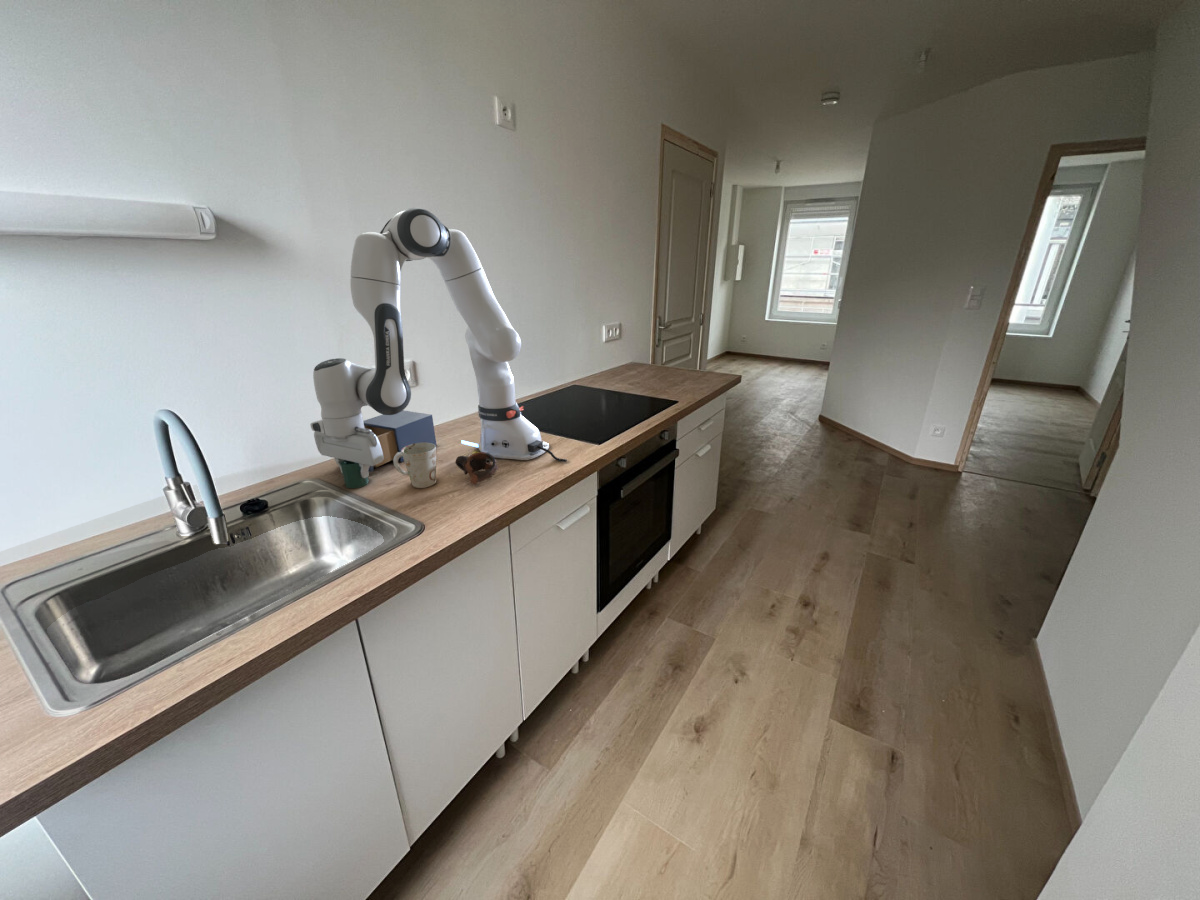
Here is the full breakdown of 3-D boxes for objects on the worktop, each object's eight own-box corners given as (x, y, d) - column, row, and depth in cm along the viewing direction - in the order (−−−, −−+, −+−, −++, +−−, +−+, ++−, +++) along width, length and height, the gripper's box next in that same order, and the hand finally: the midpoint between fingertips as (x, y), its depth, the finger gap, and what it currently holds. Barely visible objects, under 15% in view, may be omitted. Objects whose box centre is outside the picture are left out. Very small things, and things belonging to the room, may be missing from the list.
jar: (373, 481, 121) (368, 459, 118) (355, 489, 116) (350, 466, 114) (358, 478, 123) (354, 456, 120) (341, 486, 118) (335, 463, 116)
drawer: (357, 478, 121) (350, 447, 118) (323, 470, 126) (315, 440, 123) (408, 455, 136) (403, 427, 133) (375, 448, 141) (370, 422, 138)
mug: (430, 491, 115) (424, 455, 112) (386, 487, 118) (379, 451, 114) (446, 477, 123) (441, 443, 119) (405, 474, 125) (399, 440, 122)
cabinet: (401, 462, 133) (395, 428, 129) (366, 454, 139) (359, 422, 135) (436, 446, 146) (432, 414, 142) (402, 439, 151) (397, 409, 147)
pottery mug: (502, 471, 128) (503, 453, 122) (491, 498, 122) (490, 480, 115) (462, 459, 128) (460, 441, 122) (448, 486, 122) (445, 467, 115)
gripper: (384, 426, 112) (393, 476, 117) (328, 416, 120) (339, 464, 125) (362, 434, 107) (373, 486, 112) (305, 423, 115) (318, 473, 120)
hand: (355, 474), depth 119 cm, fingers closed on jar, 5 cm apart
